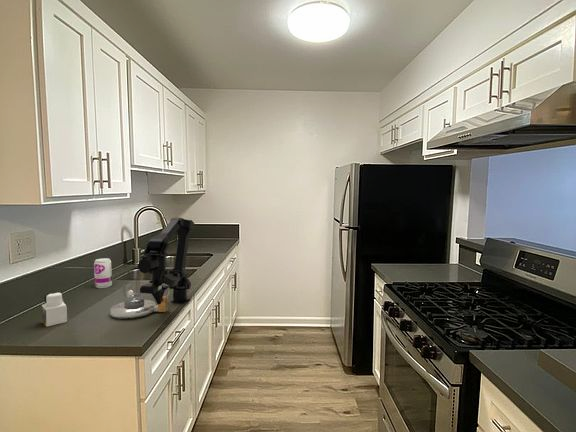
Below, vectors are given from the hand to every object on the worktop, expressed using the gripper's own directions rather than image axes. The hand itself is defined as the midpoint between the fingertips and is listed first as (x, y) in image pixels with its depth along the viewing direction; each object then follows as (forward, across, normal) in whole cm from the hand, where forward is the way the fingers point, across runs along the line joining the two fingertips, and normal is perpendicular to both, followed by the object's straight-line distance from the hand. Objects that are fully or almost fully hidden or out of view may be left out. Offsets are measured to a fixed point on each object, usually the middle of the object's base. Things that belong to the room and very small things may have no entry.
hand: (159, 304), depth 148 cm
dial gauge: (+4, +12, +20) cm, 24 cm away
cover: (+2, +1, +12) cm, 12 cm away
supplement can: (+5, +33, +53) cm, 63 cm away
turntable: (+4, +1, +10) cm, 11 cm away
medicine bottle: (+5, -16, +36) cm, 40 cm away
